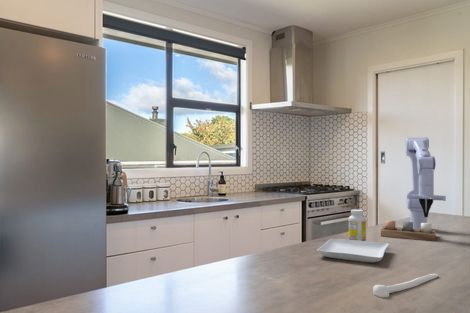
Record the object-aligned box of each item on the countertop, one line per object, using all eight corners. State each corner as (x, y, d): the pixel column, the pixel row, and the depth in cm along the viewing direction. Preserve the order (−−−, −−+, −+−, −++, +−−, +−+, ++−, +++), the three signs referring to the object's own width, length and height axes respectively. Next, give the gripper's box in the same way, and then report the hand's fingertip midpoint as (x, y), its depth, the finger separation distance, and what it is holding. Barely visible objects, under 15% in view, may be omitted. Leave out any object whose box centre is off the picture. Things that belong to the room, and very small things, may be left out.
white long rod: (427, 274, 112) (426, 265, 112) (441, 278, 108) (441, 268, 108) (369, 295, 95) (369, 283, 95) (383, 299, 92) (383, 288, 92)
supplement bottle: (363, 240, 155) (363, 209, 155) (367, 244, 149) (367, 211, 149) (347, 240, 156) (347, 208, 156) (350, 243, 149) (350, 211, 149)
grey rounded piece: (403, 229, 166) (403, 221, 166) (413, 229, 165) (413, 221, 165) (402, 230, 163) (402, 222, 163) (412, 231, 161) (412, 223, 161)
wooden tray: (383, 231, 173) (383, 226, 173) (434, 235, 164) (434, 230, 164) (380, 236, 163) (380, 230, 163) (435, 241, 154) (435, 234, 154)
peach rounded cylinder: (386, 227, 170) (386, 219, 170) (395, 228, 168) (395, 220, 168) (385, 229, 166) (385, 221, 166) (395, 230, 164) (395, 222, 164)
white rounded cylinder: (420, 230, 163) (420, 222, 163) (431, 231, 162) (431, 223, 162) (420, 232, 160) (420, 223, 160) (431, 233, 158) (431, 224, 158)
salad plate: (315, 259, 128) (315, 249, 128) (330, 246, 147) (330, 237, 147) (382, 267, 118) (382, 257, 118) (389, 252, 137) (389, 243, 137)
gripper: (407, 184, 160) (406, 216, 160) (446, 186, 154) (446, 219, 154) (407, 183, 167) (407, 214, 167) (445, 185, 160) (445, 217, 160)
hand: (426, 216), depth 161 cm, fingers closed
